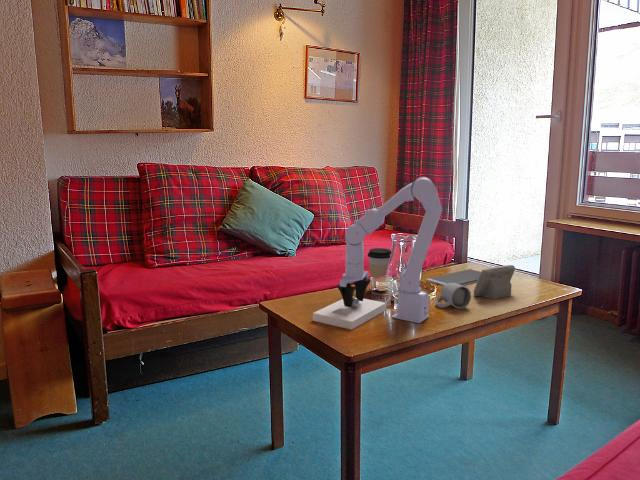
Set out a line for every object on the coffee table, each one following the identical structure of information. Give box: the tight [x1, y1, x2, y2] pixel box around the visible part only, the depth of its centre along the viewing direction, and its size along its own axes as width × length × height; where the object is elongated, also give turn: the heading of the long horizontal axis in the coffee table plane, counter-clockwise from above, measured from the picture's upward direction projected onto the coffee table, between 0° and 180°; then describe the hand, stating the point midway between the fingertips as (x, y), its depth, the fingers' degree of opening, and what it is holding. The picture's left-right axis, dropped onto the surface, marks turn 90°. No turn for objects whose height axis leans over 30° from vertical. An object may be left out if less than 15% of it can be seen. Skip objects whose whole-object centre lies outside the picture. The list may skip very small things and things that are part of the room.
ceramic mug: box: [435, 283, 472, 310], centre depth 182 cm, size 11×8×8 cm
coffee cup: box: [367, 247, 392, 279], centre depth 200 cm, size 9×9×15 cm
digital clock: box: [473, 264, 516, 300], centre depth 195 cm, size 16×9×11 cm, turn 108°
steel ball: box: [351, 296, 359, 308], centre depth 172 cm, size 4×4×4 cm
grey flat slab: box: [425, 268, 482, 287], centre depth 216 cm, size 13×27×2 cm, turn 125°
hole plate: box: [312, 296, 387, 330], centre depth 172 cm, size 14×22×2 cm, turn 146°
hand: (353, 303), depth 174 cm, fingers open, 7 cm apart
